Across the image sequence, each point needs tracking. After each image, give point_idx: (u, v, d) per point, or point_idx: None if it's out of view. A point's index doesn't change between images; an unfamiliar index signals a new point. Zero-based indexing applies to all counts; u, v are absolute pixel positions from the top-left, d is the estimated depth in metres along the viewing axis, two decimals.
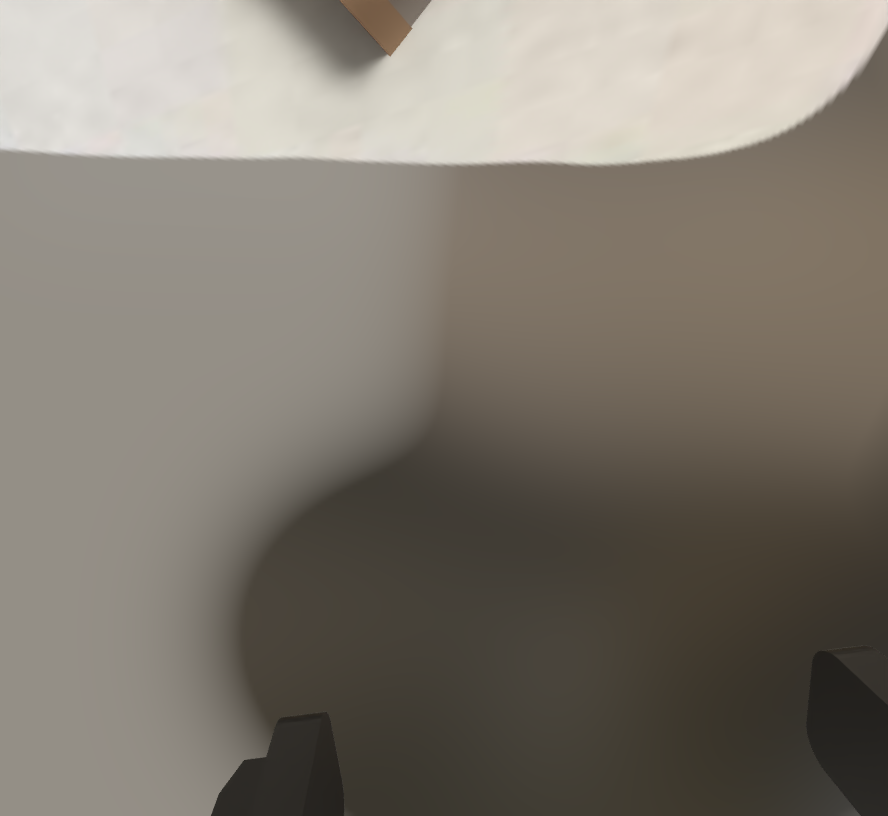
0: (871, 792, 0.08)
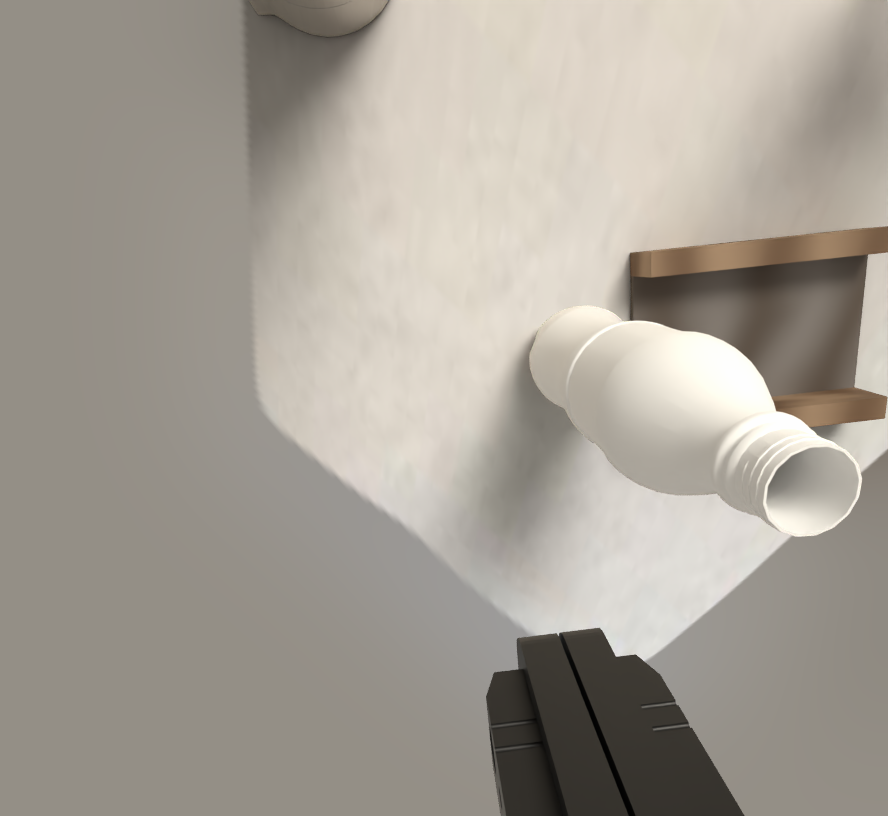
0: None
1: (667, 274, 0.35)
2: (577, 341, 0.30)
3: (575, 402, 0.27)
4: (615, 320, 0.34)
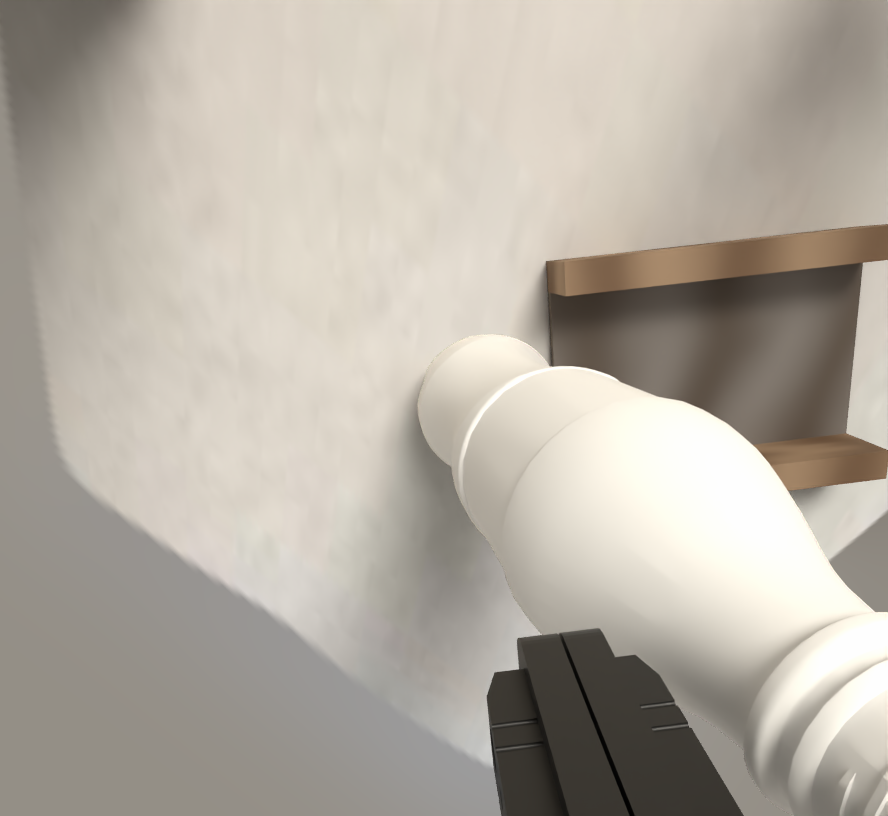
0: None
1: (588, 292, 0.26)
2: (475, 395, 0.20)
3: (472, 501, 0.17)
4: (529, 355, 0.25)
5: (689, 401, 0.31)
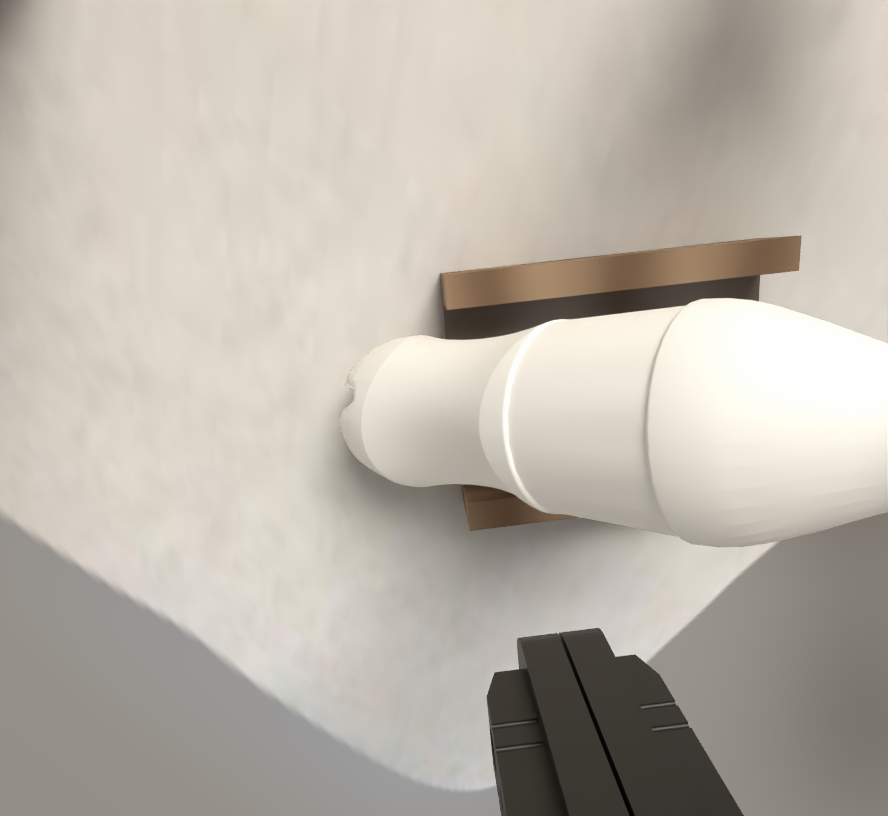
0: None
1: (469, 305, 0.26)
2: (475, 364, 0.19)
3: (542, 446, 0.16)
4: None
5: None
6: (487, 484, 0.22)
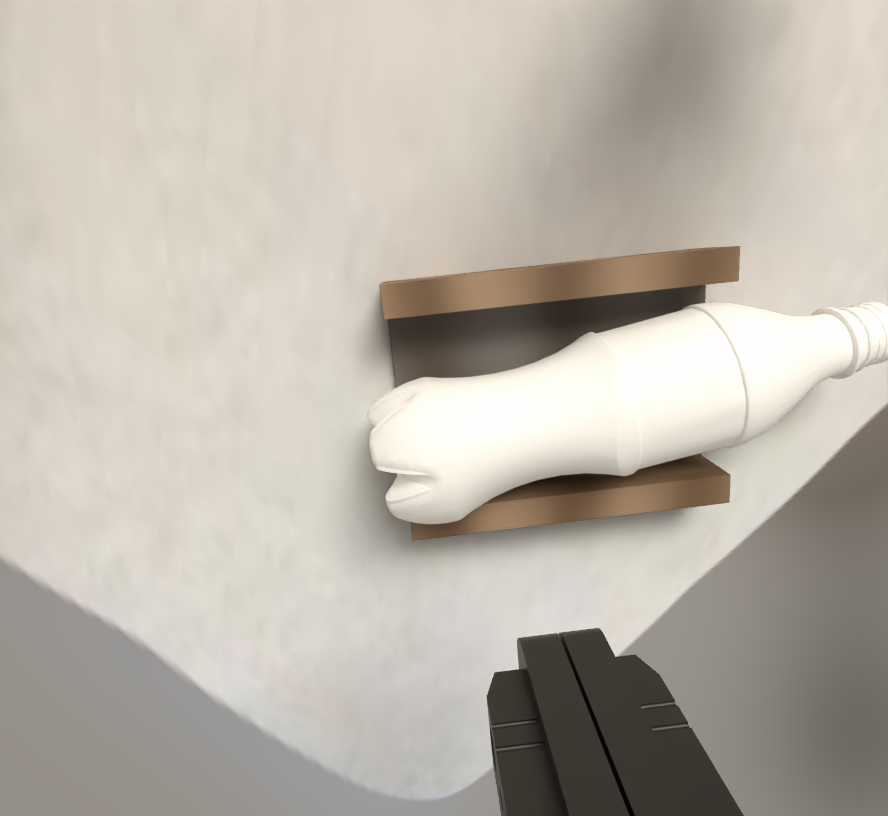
0: None
1: (406, 315, 0.25)
2: (579, 408, 0.23)
3: (670, 445, 0.24)
4: None
5: None
6: None
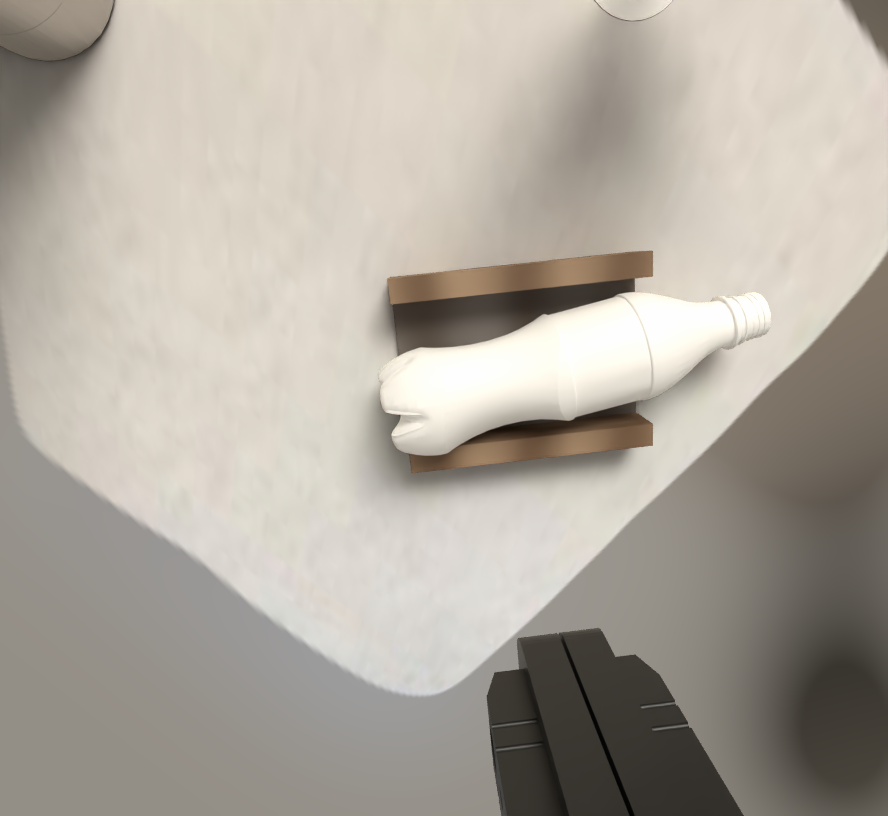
0: None
1: (407, 301, 0.35)
2: (531, 367, 0.32)
3: (598, 395, 0.33)
4: None
5: None
6: (519, 421, 0.36)
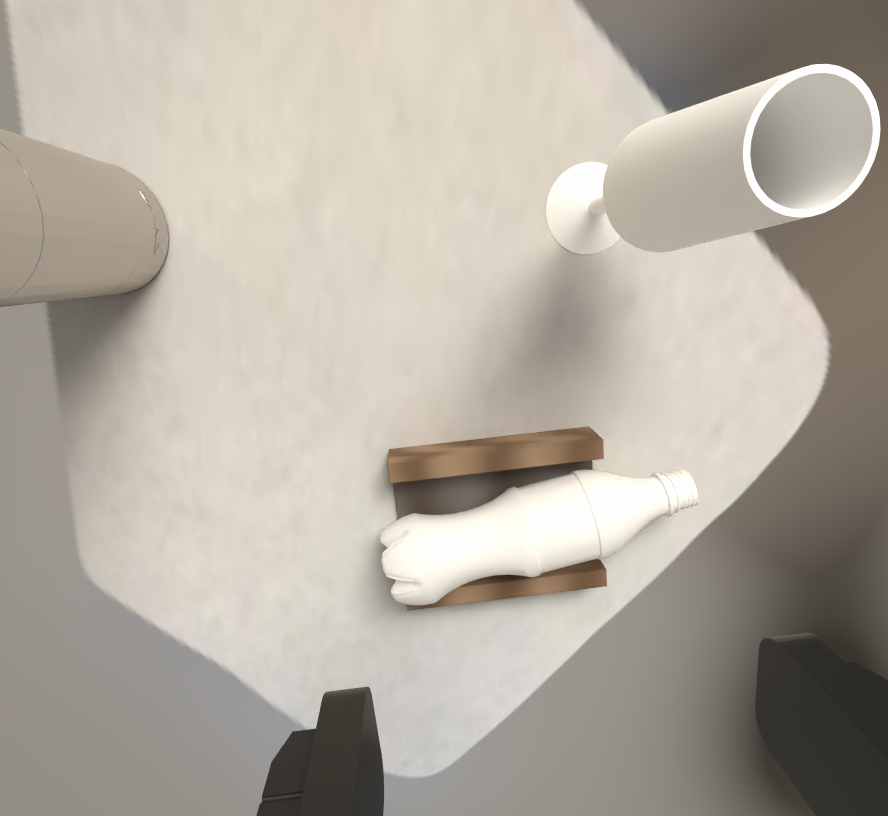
0: (808, 772, 0.08)
1: (403, 480, 0.43)
2: (503, 543, 0.40)
3: (557, 562, 0.41)
4: (437, 516, 0.43)
5: None
6: None
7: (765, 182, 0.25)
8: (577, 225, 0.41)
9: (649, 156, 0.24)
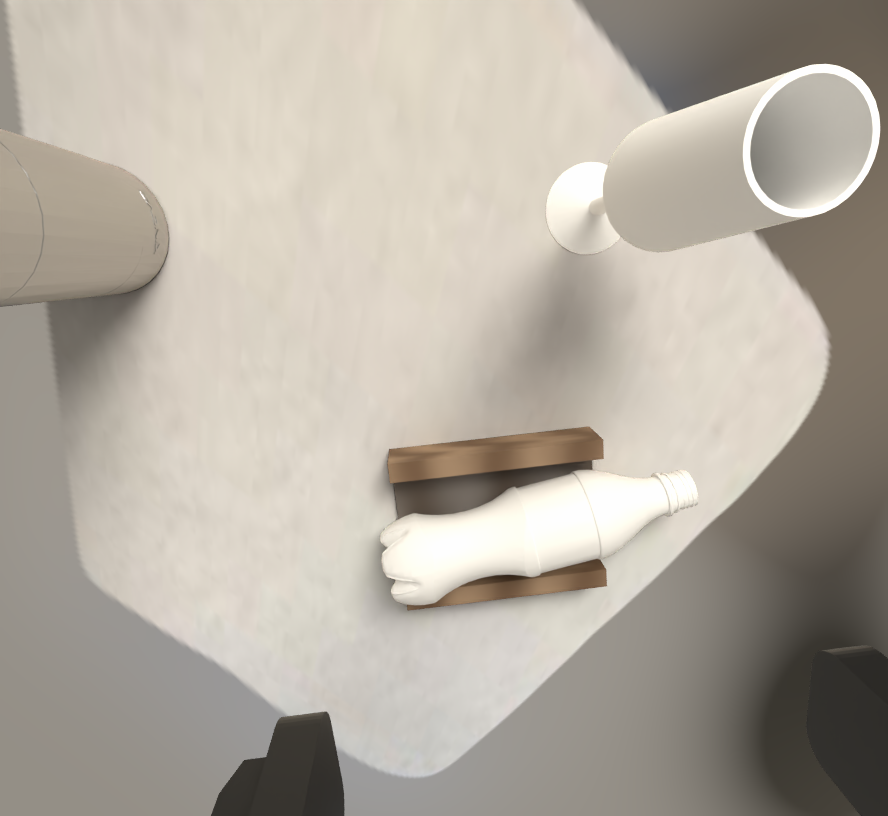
0: (871, 792, 0.08)
1: (403, 480, 0.43)
2: (503, 543, 0.40)
3: (557, 562, 0.41)
4: (437, 516, 0.43)
5: None
6: None
7: (765, 182, 0.25)
8: (577, 225, 0.41)
9: (648, 156, 0.24)
